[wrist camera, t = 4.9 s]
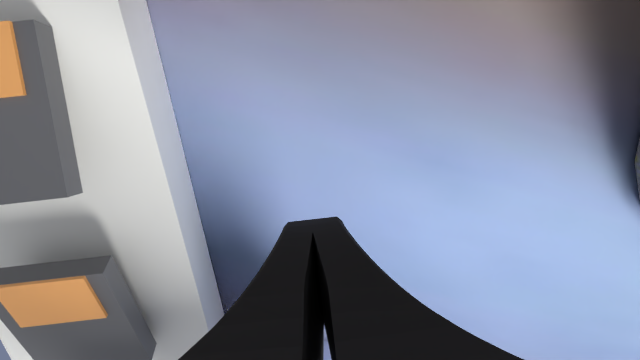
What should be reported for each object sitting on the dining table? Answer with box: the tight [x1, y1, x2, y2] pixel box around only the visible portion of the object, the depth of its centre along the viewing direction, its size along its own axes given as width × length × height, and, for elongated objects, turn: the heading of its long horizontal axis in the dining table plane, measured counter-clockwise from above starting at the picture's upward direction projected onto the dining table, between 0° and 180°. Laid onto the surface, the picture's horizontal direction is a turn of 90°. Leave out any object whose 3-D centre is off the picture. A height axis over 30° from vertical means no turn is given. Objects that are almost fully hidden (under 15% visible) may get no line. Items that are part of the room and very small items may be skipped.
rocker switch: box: [0, 255, 157, 360], centre depth 18 cm, size 6×5×1 cm
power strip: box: [0, 0, 224, 360], centre depth 18 cm, size 31×10×3 cm, turn 6°
